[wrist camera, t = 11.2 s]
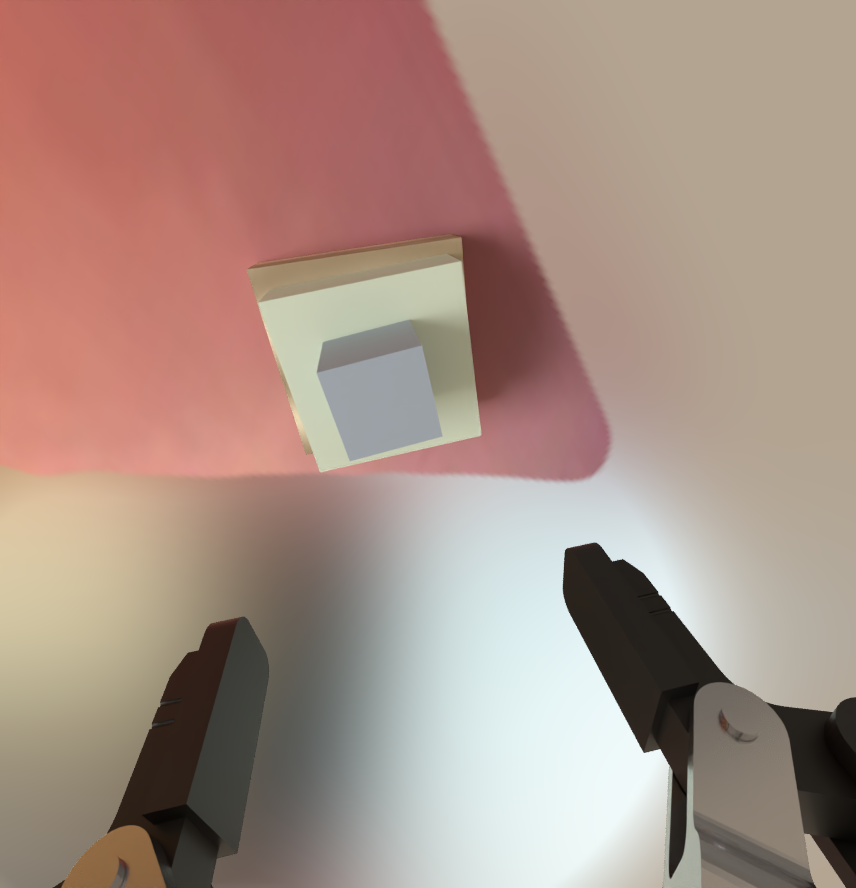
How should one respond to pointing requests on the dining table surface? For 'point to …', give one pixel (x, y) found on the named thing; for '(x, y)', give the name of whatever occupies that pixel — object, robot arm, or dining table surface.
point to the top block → (368, 307)
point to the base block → (338, 264)
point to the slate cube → (379, 390)
